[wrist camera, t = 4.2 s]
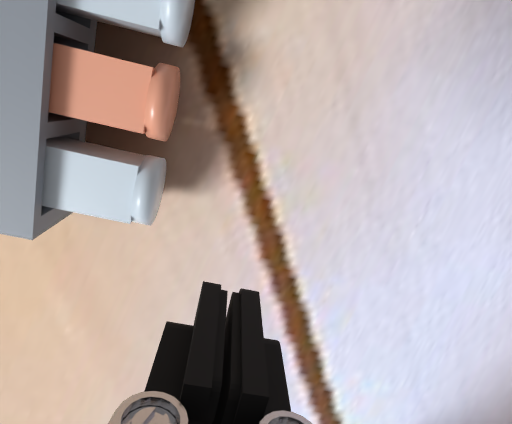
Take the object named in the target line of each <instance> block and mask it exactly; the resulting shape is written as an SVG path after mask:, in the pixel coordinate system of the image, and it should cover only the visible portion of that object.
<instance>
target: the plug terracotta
mask: <svg viewBox="0 0 512 424" xmlns="http://www.w3.org/2000/svg"><path fill="white" fill-rule="evenodd" d="M179 92H180V70H179V67H176V66H172V65H168V64H164V63H158V64H157V66H156V67H155V68H153V67H149V66H145V65H141V64H137V63H133V62H129V61H125V60H121V59H117V58H113V57H109V56H105V55H101V54H97V53H93V52H89V51H85V50H81V49H77V48H73V47H69V46H65V45H61V44H57V43H53V55H52V69H51V83H50V97H49V111H48V112H50V113H55V114H59V115H63V116H68V117H72V118H76V119H81V120H85V121H89V122H94V123H98V124H103V125H107V126H111V127H116V128H120V129H124V130H129V131H133V132H137V133H142V134H144V133H146V136H147V137H148V138H152V139H156V140H161V141H167V140H168V138H169V136H170V134H171V131H172V128H173V124H174V121H175V116H176V112H177V106H178V100H179Z"/></svg>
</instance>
